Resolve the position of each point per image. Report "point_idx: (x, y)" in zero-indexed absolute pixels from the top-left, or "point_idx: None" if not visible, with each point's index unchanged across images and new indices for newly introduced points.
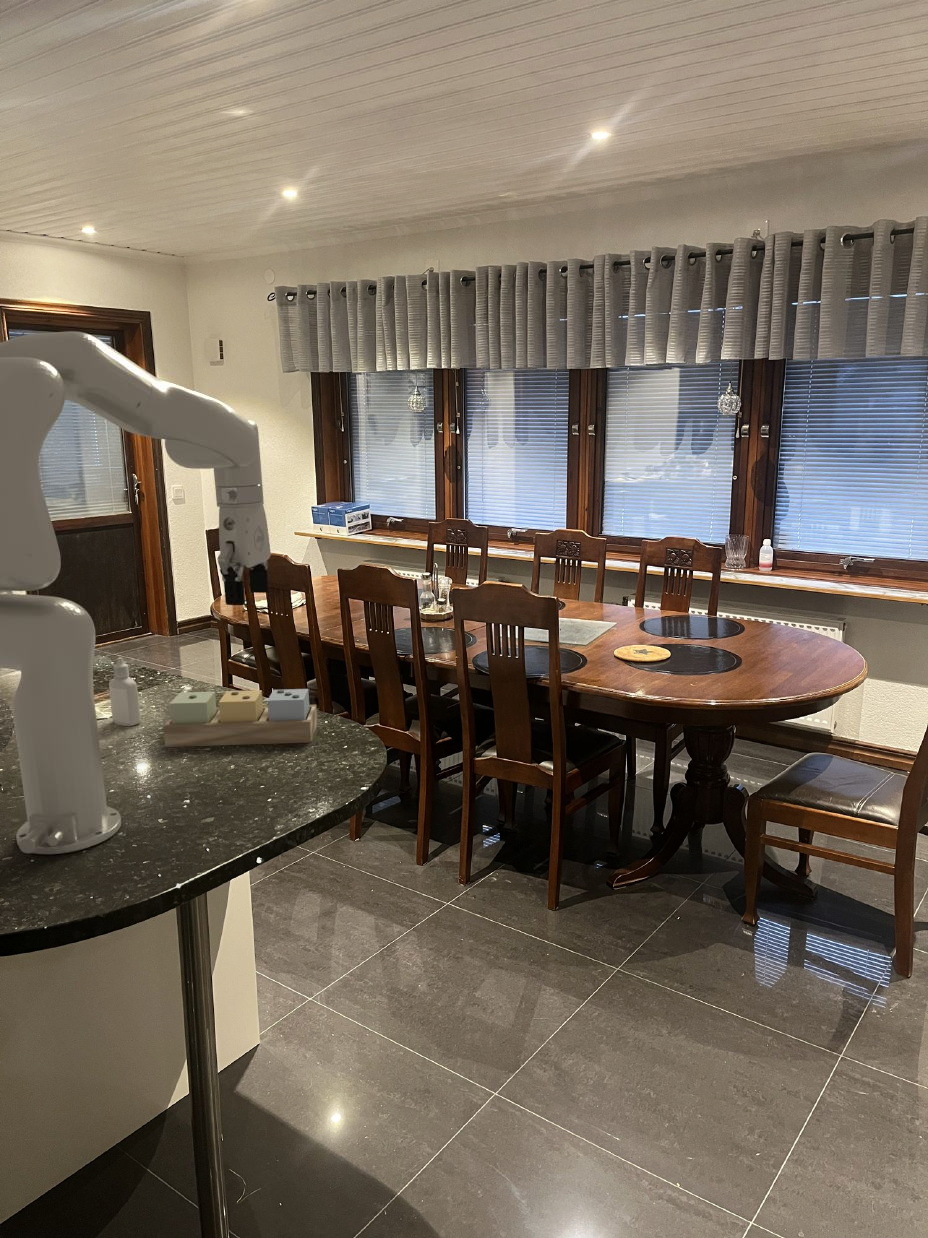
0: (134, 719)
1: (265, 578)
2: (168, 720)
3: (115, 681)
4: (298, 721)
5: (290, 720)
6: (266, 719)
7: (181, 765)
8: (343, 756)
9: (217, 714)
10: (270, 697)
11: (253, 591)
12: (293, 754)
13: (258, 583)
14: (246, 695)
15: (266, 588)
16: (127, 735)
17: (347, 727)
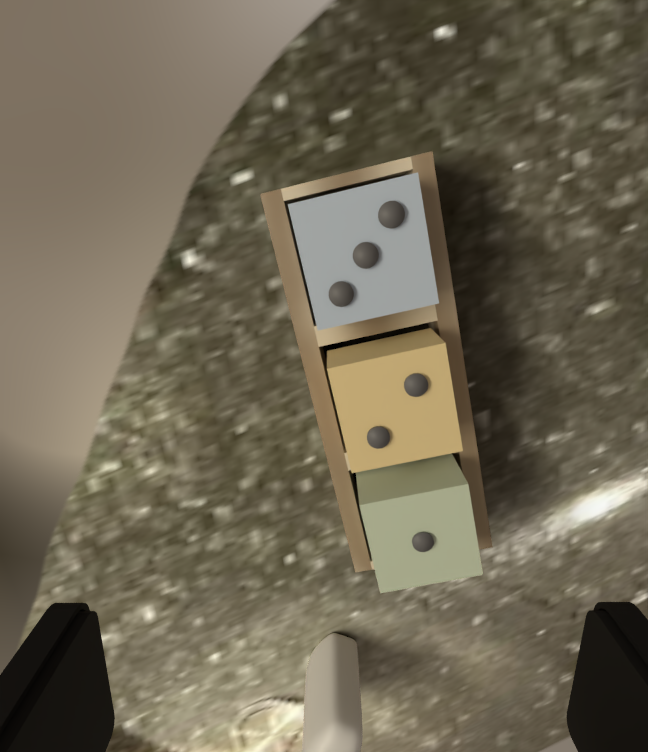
0: (349, 646)
1: (13, 743)
2: None
3: None
4: (431, 191)
5: None
6: None
7: (588, 429)
8: (524, 9)
9: None
10: (404, 306)
11: (109, 712)
12: (512, 177)
13: (62, 749)
14: (388, 395)
15: (76, 634)
16: (409, 620)
17: (279, 87)
